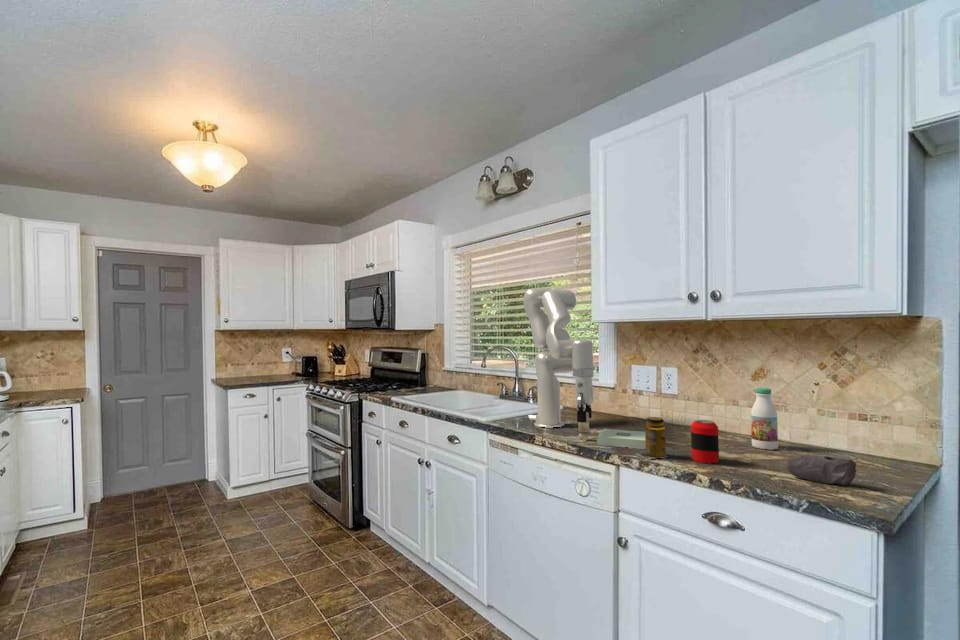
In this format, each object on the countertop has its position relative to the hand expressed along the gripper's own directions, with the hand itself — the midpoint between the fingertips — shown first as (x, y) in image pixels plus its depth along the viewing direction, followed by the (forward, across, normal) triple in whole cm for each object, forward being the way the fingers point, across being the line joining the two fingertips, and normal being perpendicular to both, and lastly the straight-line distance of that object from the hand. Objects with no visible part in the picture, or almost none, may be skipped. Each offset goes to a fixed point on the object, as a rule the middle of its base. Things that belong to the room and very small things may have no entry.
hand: (584, 420), depth 173 cm
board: (+8, +2, -13) cm, 15 cm away
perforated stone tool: (+10, -24, -66) cm, 71 cm away
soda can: (+9, -13, -39) cm, 42 cm away
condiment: (+9, -13, -24) cm, 29 cm away
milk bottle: (+9, +12, -58) cm, 60 cm away
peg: (+7, +1, +1) cm, 7 cm away
